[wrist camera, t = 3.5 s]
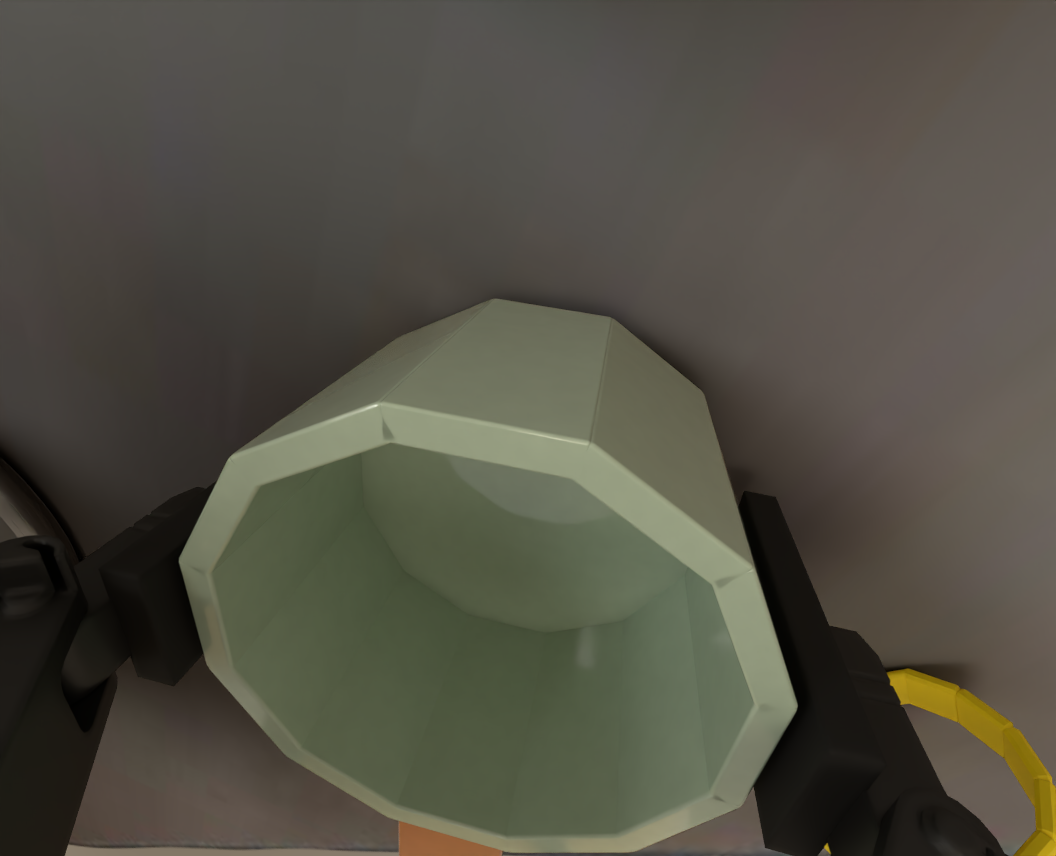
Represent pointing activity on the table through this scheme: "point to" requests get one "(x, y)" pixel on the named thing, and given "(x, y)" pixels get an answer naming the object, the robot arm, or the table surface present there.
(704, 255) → the table surface
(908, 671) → the watch
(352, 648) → the pale green cup
